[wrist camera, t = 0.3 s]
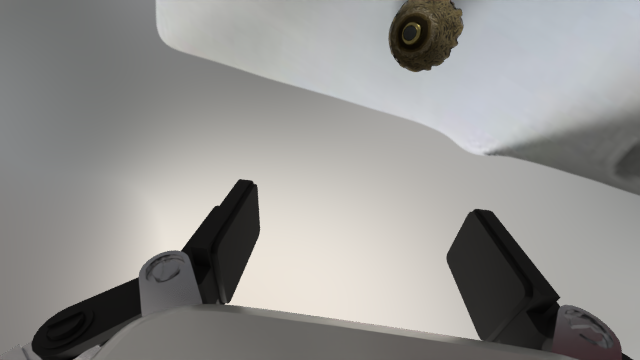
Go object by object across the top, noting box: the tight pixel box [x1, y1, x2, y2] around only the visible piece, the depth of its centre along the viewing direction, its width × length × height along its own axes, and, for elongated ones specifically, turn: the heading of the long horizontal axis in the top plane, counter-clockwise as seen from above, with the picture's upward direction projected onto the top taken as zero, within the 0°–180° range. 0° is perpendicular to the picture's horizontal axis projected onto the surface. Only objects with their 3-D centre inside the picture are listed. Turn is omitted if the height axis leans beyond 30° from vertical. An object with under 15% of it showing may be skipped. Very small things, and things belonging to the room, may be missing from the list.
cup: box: [389, 0, 463, 72], centre depth 29 cm, size 8×7×8 cm
